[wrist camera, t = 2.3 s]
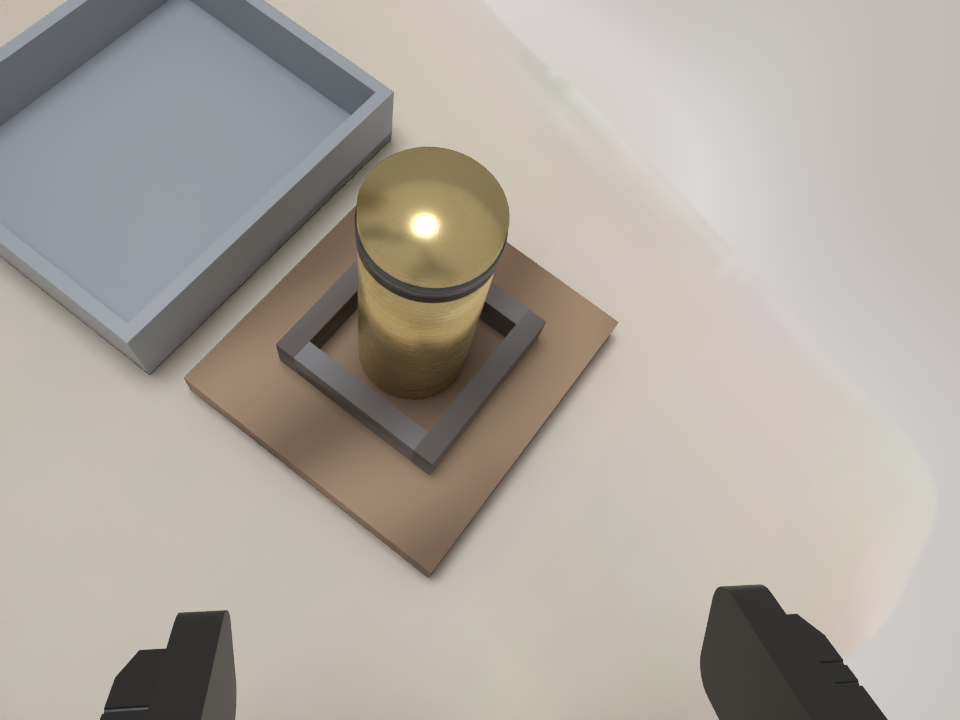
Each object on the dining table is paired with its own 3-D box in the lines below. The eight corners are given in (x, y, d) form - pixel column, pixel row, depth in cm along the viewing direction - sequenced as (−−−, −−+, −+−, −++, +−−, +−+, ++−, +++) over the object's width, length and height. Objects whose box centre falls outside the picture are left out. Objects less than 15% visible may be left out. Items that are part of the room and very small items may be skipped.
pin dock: (190, 389, 29) (174, 362, 27) (396, 180, 33) (399, 141, 31) (428, 577, 28) (434, 567, 25) (609, 334, 32) (630, 305, 30)
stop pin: (333, 355, 29) (321, 217, 20) (403, 278, 30) (420, 119, 22) (422, 423, 28) (449, 310, 20) (489, 341, 30) (541, 204, 21)
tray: (-86, 188, 30) (-131, 139, 28) (181, -11, 36) (165, -69, 33) (149, 374, 29) (127, 343, 26) (391, 139, 34) (393, 91, 31)
